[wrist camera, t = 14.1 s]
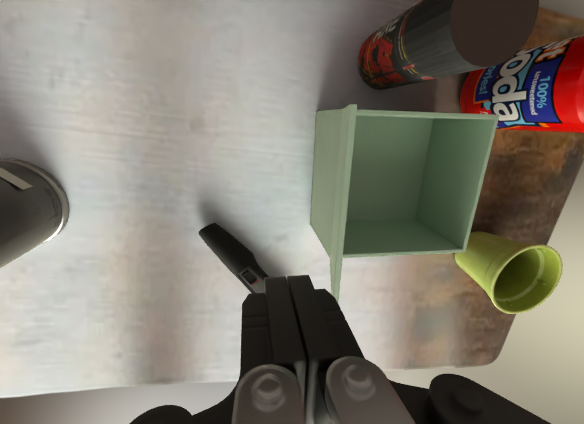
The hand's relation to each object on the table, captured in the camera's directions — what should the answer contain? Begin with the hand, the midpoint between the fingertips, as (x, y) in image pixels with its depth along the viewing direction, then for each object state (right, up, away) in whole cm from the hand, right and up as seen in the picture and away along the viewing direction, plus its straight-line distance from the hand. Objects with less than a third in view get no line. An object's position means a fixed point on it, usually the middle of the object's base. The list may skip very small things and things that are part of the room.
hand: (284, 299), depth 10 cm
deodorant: (+10, +20, +22) cm, 31 cm away
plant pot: (+27, -2, +32) cm, 42 cm away
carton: (+10, +8, +25) cm, 28 cm away
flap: (+4, +4, +11) cm, 13 cm away
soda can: (+24, +17, +25) cm, 38 cm away
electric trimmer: (-6, -4, +27) cm, 28 cm away
